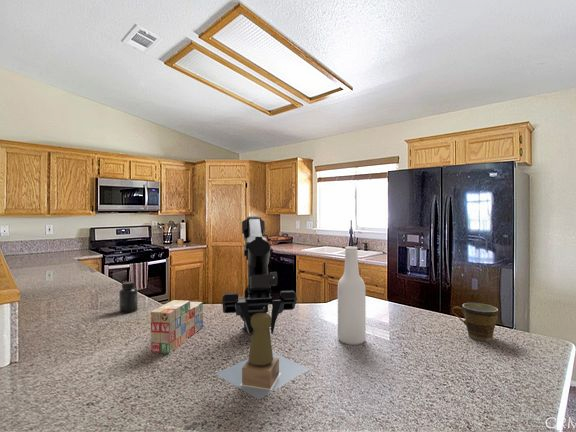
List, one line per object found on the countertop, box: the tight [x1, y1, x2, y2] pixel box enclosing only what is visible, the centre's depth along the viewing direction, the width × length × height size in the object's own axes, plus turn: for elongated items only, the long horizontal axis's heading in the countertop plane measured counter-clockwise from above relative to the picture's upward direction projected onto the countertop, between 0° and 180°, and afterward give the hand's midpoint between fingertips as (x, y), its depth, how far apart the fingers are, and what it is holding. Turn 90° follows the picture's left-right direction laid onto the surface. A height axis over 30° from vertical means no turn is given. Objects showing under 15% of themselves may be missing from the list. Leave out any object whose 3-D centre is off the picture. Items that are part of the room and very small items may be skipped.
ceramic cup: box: [451, 302, 499, 343], centre depth 101 cm, size 13×10×10 cm
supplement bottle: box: [118, 281, 139, 314], centre depth 130 cm, size 7×7×12 cm
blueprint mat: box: [214, 352, 310, 400], centre depth 79 cm, size 18×16×1 cm
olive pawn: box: [248, 312, 273, 365], centre depth 75 cm, size 6×6×11 cm
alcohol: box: [337, 245, 367, 346], centre depth 99 cm, size 9×9×30 cm
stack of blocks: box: [150, 299, 204, 354], centre depth 101 cm, size 21×6×12 cm, turn 169°
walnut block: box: [242, 357, 279, 389], centre depth 75 cm, size 7×7×4 cm
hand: (261, 333), depth 74 cm, fingers closed on olive pawn, 5 cm apart
